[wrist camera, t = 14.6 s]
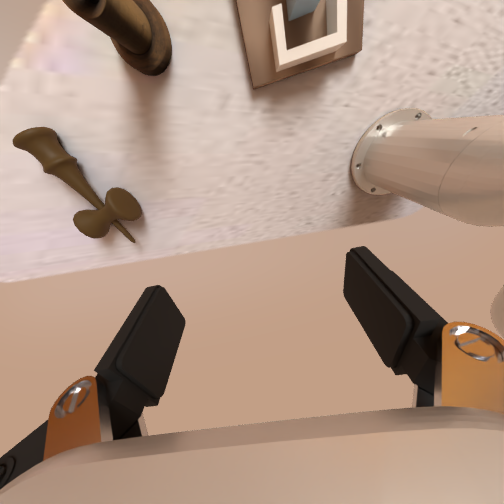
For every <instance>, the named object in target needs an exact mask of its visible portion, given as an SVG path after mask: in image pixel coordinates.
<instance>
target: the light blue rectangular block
mask: <svg viewBox="0 0 504 504" xmlns="http://www.w3.org/2000/svg"><path fill="white" fill-rule="evenodd" d="M319 2H320V0H286V3H287V12H288V21H291V20H293V19H296V18H298V17H301V16H303V15H306V14H308V13H311V12H313V11H314V10H315V9H316V7H317V5H318V3H319Z"/></svg>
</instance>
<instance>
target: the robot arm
mask: <svg viewBox="0 0 504 504" xmlns="http://www.w3.org/2000/svg"><path fill="white" fill-rule="evenodd" d="M376 128H377V129H376ZM356 165H357V167H356ZM351 170H352V177H353V179H354V182H355V183H356V185H357V186H358V187H359V188H360V189H361V190H363V191H365V192H366V193H369V194H372V195H385V194H389V193H394V194H397V195H399V196H401V197H404V198H406V199H408V200H411V201H413V202H416V203H418V204H420V205H423V206H425V207H428V208H430V209H432V210H434V211H437V212H439V213H442V214H444V215H447V216H449V217H452V218H454V219H456V220H459V221H461V222H464V223H467V224H472V225H477V226H488V227H490V226H491V227H493V226H504V115H492V116H476V117H461V118H445V119H432V118H431V117H430V115H429V114H428V113H426V112H425V111H423V110H420V109H417V108H405V109H399V110H396V111H393V112H390V113H388V114H386V115H385V116H383V117H381V118H380V119H379V120H377V121H376V122H375V123H374V124H373V125H372V126H371V127H370V128H369V129H368V130H367V131H366V132H365V133H364V135H363V136H362V138H361V139H360V141H359V143H358V144H357V147H356V149H355V151H354V154H353V158H352V165H351ZM343 293H344V297H345V299H346V301H347V302H348V304H349V306H350V307H351V309H352V311H353V312H354V314H355V316H356V317H357V319H358V321H359V322H360V324H361V325H362V327H363V329H364V331H365V332H366V334H367V336H368V337H369V339H370V341H371V342H372V344H373V346H374V347H375V349H376V351H377V352H378V354H379V356H380V357H381V359H382V361H383V362H384V364H385V365H386V366H387V367H391V368H392V370H393V371H394V373H395V375H402V374H407V375H408V376H409V378H410V379H411V381H412V382H413V383H414V393H413V403H412V408H404V409H391V410H379V411H369V412H358V413H349V414H339V415H330V416H320V417H311V418H301V419H292V420H283V421H274V422H265V423H256V424H247V425H238V426H229V427H221V428H212V429H202V430H194V431H185V432H176V433H168V434H159V435H151V436H148V432H147V429H146V424H145V421H144V417H143V413H142V412H143V409H144V406H146V407H148V406H157V405H158V403H159V399H160V397H162V395H163V394H164V391H165V388H166V385H167V382H168V379H169V375H170V372H171V369H172V366H173V363H174V359H175V356H176V353H177V350H178V347H179V343H180V340H181V337H182V333H183V330H184V327H185V318H184V317H183V315H182V314H181V313H180V311H179V309H178V308H177V306H176V305H175V303H174V302H173V300H172V299H171V297H170V296H169V294H168V293H167V291H166V290H165V288H164V287H161V286H160V285H156V286H151V287H147V288H146V289H145V291H144V292H143V294H142V295H141V297H140V298H139V300H138V302H137V303H136V305H135V306H134V308H133V310H132V311H131V313H130V314H129V316H128V318H127V319H126V321H125V322H124V324H123V325H122V327H121V328H120V330H119V332H118V333H117V335H116V336H115V338H114V340H113V341H112V343H111V344H110V346H109V348H108V349H107V351H106V352H105V354H104V355H103V357H102V359H101V360H100V362H99V363H98V365H97V367H96V368H95V370H94V371H96V372H97V373H98V374H97V376H96V377H93V376H85V377H83V378H80V379H79V380H77V381H75V382H74V383H73V384H71V385H70V386H69V387H68V388H67V389H66V390H65V391H64V392H63V393H62V394H61V395H60V396H59V397H58V399H57V400H56V401H55V403H54V405H53V406H52V408H51V411H50V414H49V419H48V420H47V421H46V422H45V423H43V424H42V425H41V426H39V427H38V428H37V429H36V430H34V431H33V432H32V433H31V434H29V435H28V436H27V437H26V438H25V439H23V440H22V441H21V442H19V443H18V444H17V445H16V446H14V447H13V448H12V449H11V450H9V451H8V452H7V453H6V454H4V455H3V456H2V457H1V458H0V504H504V340H503V339H502V338H500V337H499V336H498V335H496V334H495V333H493V332H491V331H489V330H487V329H485V328H483V327H480V326H477V325H475V324H471V323H466V322H452V323H447V322H446V321H445V320H444V319H443V318H442V317H441V316H440V315H439V314H438V313H437V312H435V310H434V309H432V308H431V307H430V306H429V305H428V304H427V303H426V302H425V301H424V300H423V299H422V298H421V297H420V296H419V295H418V294H417V293H416V292H414V291H413V290H412V289H411V288H410V287H409V286H408V285H407V284H406V283H405V282H404V281H403V280H402V279H401V278H400V277H399V276H398V275H396V274H395V273H394V272H393V271H391V270H389V269H388V268H387V267H386V266H385V265H384V264H383V263H382V262H381V261H380V260H379V259H378V258H377V257H376V256H375V255H374V254H372V252H371V251H370V250H369V249H368V248H366V247H365V246H361V247H356V248H352V249H351V250H350V252H347V254H346V265H345V277H344V289H343ZM490 313H491V319H492V322H493V324H494V326H495V328H496V330H497V331H498V332H499V334H500V335H501V336H502V337H503V338H504V286H503V287H502V288H501V290H500V291H499V292H498V294H497V295H496V297H495V298H494V301H493V303H492V305H491V310H490Z"/></svg>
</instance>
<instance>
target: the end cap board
mask: <svg viewBox="0 0 504 504" xmlns="http://www.w3.org/2000/svg"><path fill="white" fill-rule="evenodd" d="M281 3H282V12H283V21H284V30H285V39H286V48H287V50H289V49H292V48H295V47H297V46H300V45H303V44H306V43H308V42H311V41H314V40H317V39H320V38H322V37H325V36H327V12H326V0H320V2H319V3H318V5H317V7H316V9H315V10H314V11H313V12H311V13H308V14H306V15H303V16H301V17H298V18H296V19H293V20H291V21H288V12H287V3H286V0H236V4H237V9H238V14H239V19H240V24H241V29H242V34H243V39H244V44H245V49H246V54H247V59H248V64H249V69H250V75H251V80H252V85H253V89H256V88H259V87H262V86H265V85H268V84H271V83H274V82H276V81H279V80H282V79H285V78H288V77H291V76H294V75H297V74H300V73H303V72H305V71H308V70H311V69H314V68H317V67H320V66H323V65H326V64H329V63H332V62H334V61H337V60H340V59H343V58H346V57H349V56H352V55H355V54H357V53H358V52H360V51H361V50H362V36H363V13H364V0H347V42H346V43H344V44H343V45H342V46H341V47H340V48H339V49H338V50H337V51H335V52H332V53H330V54H327V55H324V56H321V57H318V58H315V59H312V60H310V61H307V62H304V63H301V64H298V65H295V66H292V67H290V68H287V69H284V70H281V71H278V72H276V67H275V60H274V53H273V46H272V39H271V32H270V25H269V19H270V14H271V9H272V7H273V6H276V5H278V4H281Z"/></svg>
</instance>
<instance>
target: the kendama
mask: <svg viewBox="0 0 504 504" xmlns="http://www.w3.org/2000/svg"><path fill="white" fill-rule="evenodd" d="M13 145H14V146H15V147H17V148H19V149H22V150H26V151H28V152H29V153H30V154H32V155H33V156H34V157H35V158H36V159H37V160H38V161H39V162H40V163H41V164H42V166H43V170H44V172H45V173H48V174H52V175H55V176H57V177H58V178H60V179H61V180H63V181H64V182H65V183H67V184H68V185H69V186H71V187H72V188H73V189H74V190H76V191H77V192H78V193H79V194H81V195H82V196H83V197H84V198H85V199H87V200H88V201H89V202H90V203H91V204H92V205H93V206H94V207H96V208H97V209H98V210H82V211H79V212H77V213H76V214H75V215H74V218H73V221H74V224H75V226H76V227H77V228H78V230H79V231H80V232H82V233H83V234H85V235H86V236H88V237H91V238H101V237H104V236H105V235H106V234H107V233H108V232H109V229H110V225H111V223H112V224H114V225H115V226H116V227H117V228H118V229H119V230H120V231H121V232H122V233H123V234H124V235H125V236H126V237H127V238H128V239H129V240H130V241H131V242H133V243H135V240H134V238H133V237H132V236H131V235H130V233H129V232H128V231H127V230H126V229H125V228H124V227H123V226H122V224H121V223H120V222H119V221H118V220H117V219H121V220H128V221H134V220H137V219H139V218H140V216H141V214H142V210H141V207H140V205H139V203H138V202H137V200H136V199H135V198H134V197H133V196H132V195H131V194H130V193H129V192H127V191H126V190H124V189H122V188H118V187H117V188H111V189H110V190H109V191H107V194H106V198H105V205H104V204H103V202H102V201H101V200H100V199H99V197H98V196H97V195H96V194H95V192H94V191H93V190H92V188H91V187H90V185H89V184H88V183H87V181H86V180H85V178H84V177H83V175H82V174H81V172H80V171H79V169H78V167H77V159H76V158H74V157H72V156H70V155H69V154H67V153H66V151H65V150H64V149H63V148H62V147H61V145H60V144H59V142H58V140H57V133H56V132H55V131H54V130H52V129H50V128H46V127H35V128H30V129H27V130H24V131H22V132H20V133H19V134H17V135H16V136H15V137H14V139H13Z"/></svg>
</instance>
